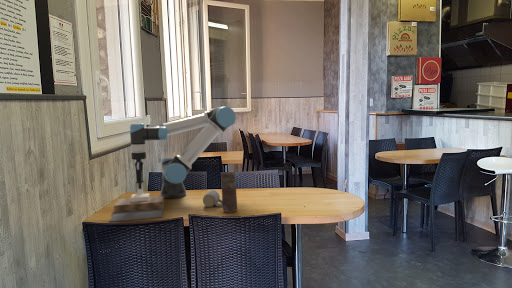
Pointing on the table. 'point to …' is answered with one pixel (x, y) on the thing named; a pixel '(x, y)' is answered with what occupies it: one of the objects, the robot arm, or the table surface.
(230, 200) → the brown rectangular block
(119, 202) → the riser
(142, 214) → the mat
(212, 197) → the ceramic mug
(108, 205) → the table surface
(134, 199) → the tile
